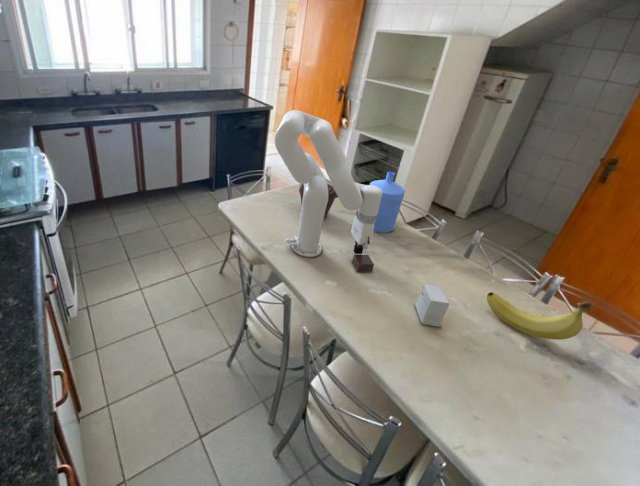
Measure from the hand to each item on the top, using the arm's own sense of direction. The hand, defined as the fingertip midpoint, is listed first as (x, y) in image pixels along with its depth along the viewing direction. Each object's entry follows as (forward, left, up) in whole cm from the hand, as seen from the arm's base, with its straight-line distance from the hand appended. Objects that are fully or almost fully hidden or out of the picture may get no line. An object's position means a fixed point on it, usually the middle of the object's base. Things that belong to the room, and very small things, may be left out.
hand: (357, 252), depth 138 cm
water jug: (+20, +25, -2) cm, 32 cm away
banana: (+42, -37, -2) cm, 56 cm away
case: (-9, +34, -2) cm, 35 cm away
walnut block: (0, -7, -2) cm, 7 cm away
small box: (+13, -32, -2) cm, 34 cm away
